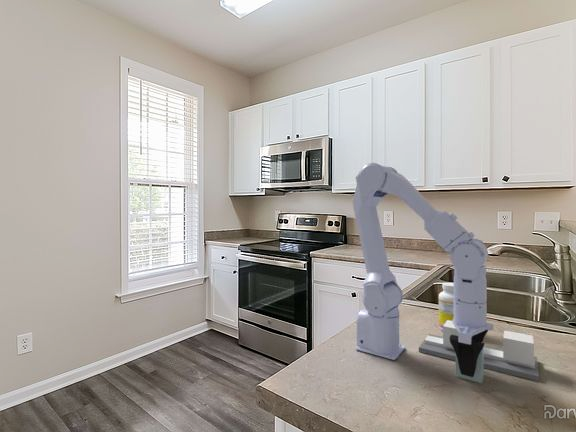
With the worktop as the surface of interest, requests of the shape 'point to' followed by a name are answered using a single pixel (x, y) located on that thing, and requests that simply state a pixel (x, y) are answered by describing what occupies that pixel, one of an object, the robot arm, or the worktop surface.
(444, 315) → the supplement bottle
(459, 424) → the worktop surface
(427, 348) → the board
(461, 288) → the robot arm
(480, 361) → the block
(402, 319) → the worktop surface
